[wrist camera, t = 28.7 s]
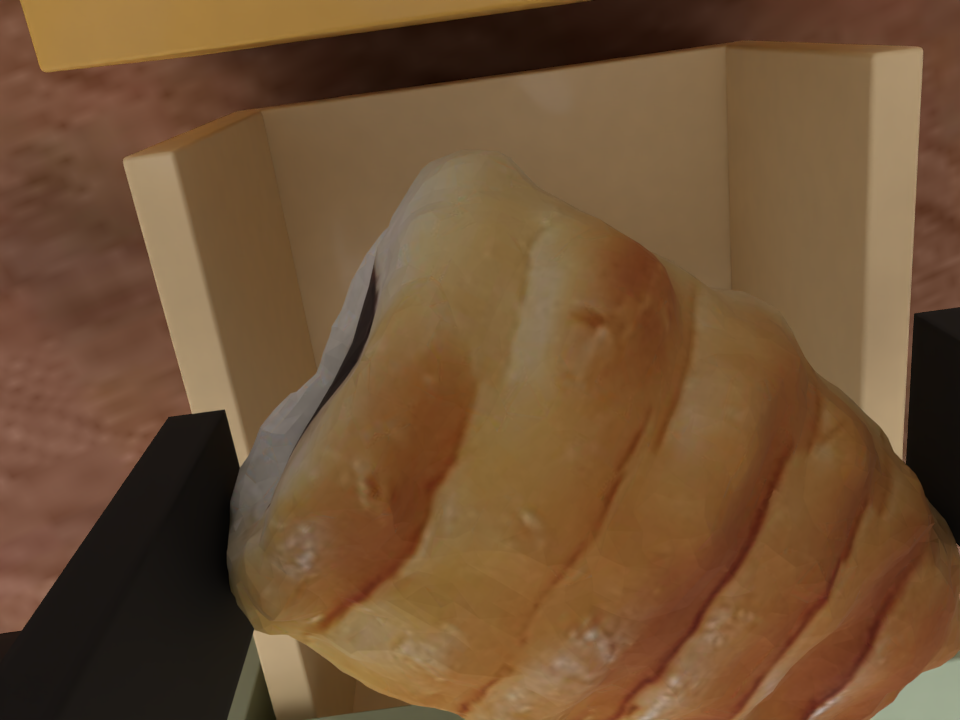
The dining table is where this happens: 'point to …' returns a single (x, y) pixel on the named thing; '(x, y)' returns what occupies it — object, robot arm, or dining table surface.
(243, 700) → the cabinet
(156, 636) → the robot arm
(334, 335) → the pastry
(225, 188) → the drawer
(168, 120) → the dining table surface
